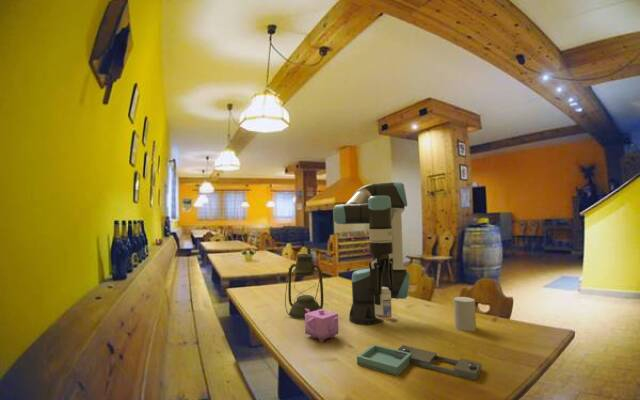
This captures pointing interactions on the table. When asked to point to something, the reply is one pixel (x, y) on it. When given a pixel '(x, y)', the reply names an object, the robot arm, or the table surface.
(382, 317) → the pill bottle
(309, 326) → the teapot
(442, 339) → the table surface
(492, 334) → the table surface
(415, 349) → the mounting rail
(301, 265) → the lantern
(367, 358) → the tray
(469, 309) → the cup
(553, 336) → the table surface
